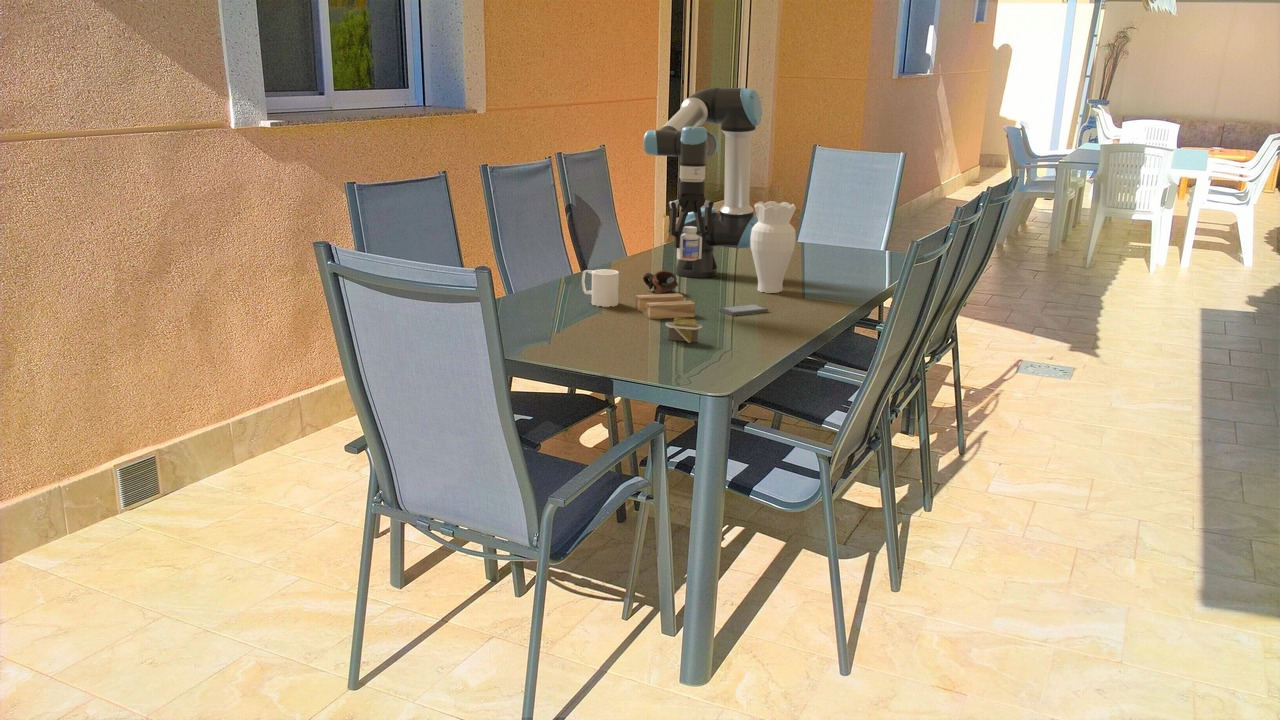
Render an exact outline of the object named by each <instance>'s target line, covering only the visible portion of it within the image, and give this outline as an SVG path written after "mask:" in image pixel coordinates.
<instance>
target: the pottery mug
mask: <svg viewBox="0 0 1280 720" xmlns="http://www.w3.org/2000/svg"><path fill="white" fill-rule="evenodd" d="M671 277H672V278H673V281H671V282H668V279H670V278H671ZM642 279H643V280H642V281H643V282H644V283H645V285H646V286H647V287H648V288H649V290H652V289H653V291H654V293H655V294H665V293H668V292H671V291H673V290H675V289H676V287H678V286H679V284H678V282H677V276H676V274H675V273H673V272H671V271H668V270H666V269H665V270H658V271H657V272H655V273H654V274H653V273H650V272H646V273H645V274H644V275H643V277H642ZM655 294H654V295H655Z"/></svg>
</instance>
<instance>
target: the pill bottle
mask: <svg viewBox="0 0 1280 720" xmlns="http://www.w3.org/2000/svg"><path fill="white" fill-rule="evenodd" d="M696 232H697V227H693V226H685V227H684V234H682V233H681V236H680V237H682V238H683V253H682V260H687V261H694V260H697V259H698V245H699V236H698V235H697V234H696Z"/></svg>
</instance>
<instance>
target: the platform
mask: <svg viewBox="0 0 1280 720" xmlns="http://www.w3.org/2000/svg"><path fill="white" fill-rule="evenodd" d="M665 326H666V327H667V328H668V340H669V341H677V342H678V341H680V342H681V341H682V342H687V343H689V344H691V343H698V341H699V340H698V339H699V329H702V328H703V324H701V323H700V324H698V323H696V319H692V318H691V319H690V318H687V319H685V318H682V317H680V318H673V321H671V322H670V321H666V322H665Z"/></svg>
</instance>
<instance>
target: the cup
mask: <svg viewBox="0 0 1280 720" xmlns="http://www.w3.org/2000/svg"><path fill="white" fill-rule="evenodd" d="M586 273H588V274H591V290H587V289H586V284H585V279H586ZM619 274H620V273H619V271H618V270H615V269H610V268H609V269H603V268H602V269H595V270H591V269H590V270H589V269H585V270H583V271H582V274H581V275H582V276H581V286H582V292H583V293H584V294H585V295H591V305H592V306H594V305H596V306H595V307H599V306H602V308H609V307H610V306H612V307H616V306H618V305H619V278H620V277H619V276H620V275H619Z"/></svg>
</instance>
